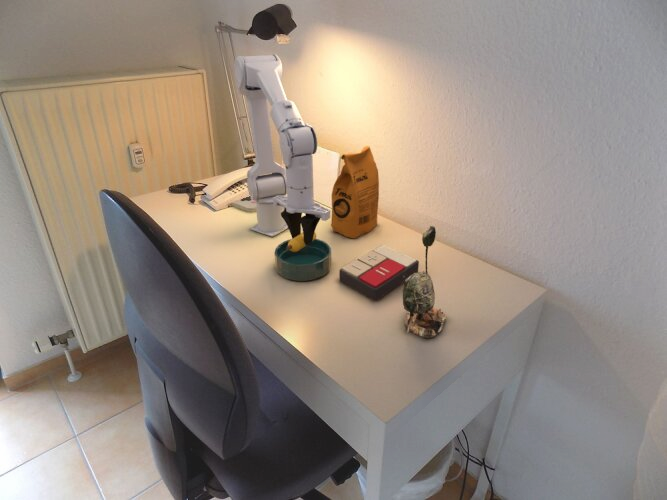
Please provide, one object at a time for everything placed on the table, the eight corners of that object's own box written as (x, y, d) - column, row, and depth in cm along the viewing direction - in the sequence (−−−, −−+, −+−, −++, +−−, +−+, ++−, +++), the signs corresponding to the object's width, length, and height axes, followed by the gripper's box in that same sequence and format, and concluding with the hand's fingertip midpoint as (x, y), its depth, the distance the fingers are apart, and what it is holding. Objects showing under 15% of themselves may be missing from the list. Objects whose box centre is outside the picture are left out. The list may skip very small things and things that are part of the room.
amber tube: (309, 237, 103) (308, 225, 102) (319, 240, 102) (319, 228, 100) (282, 253, 97) (282, 241, 95) (293, 257, 95) (292, 245, 94)
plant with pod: (385, 326, 83) (392, 234, 74) (425, 304, 89) (436, 216, 80) (416, 349, 78) (428, 253, 68) (456, 324, 84) (473, 232, 74)
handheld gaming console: (229, 200, 133) (264, 186, 144) (230, 205, 134) (265, 190, 144) (251, 208, 128) (286, 193, 138) (251, 213, 129) (286, 198, 139)
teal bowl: (299, 248, 110) (298, 232, 108) (341, 263, 104) (341, 246, 102) (264, 270, 101) (263, 254, 99) (308, 288, 94) (308, 271, 92)
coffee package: (325, 230, 119) (324, 151, 108) (355, 216, 127) (357, 141, 116) (353, 241, 113) (355, 160, 102) (382, 226, 121) (386, 149, 110)
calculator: (338, 267, 95) (382, 241, 104) (338, 282, 97) (382, 256, 106) (375, 287, 88) (420, 258, 97) (375, 304, 91) (418, 273, 99)
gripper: (261, 183, 93) (266, 239, 100) (315, 197, 86) (317, 257, 92) (283, 174, 98) (286, 227, 105) (336, 187, 91) (336, 243, 97)
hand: (302, 240), depth 99 cm, fingers closed on amber tube, 3 cm apart
